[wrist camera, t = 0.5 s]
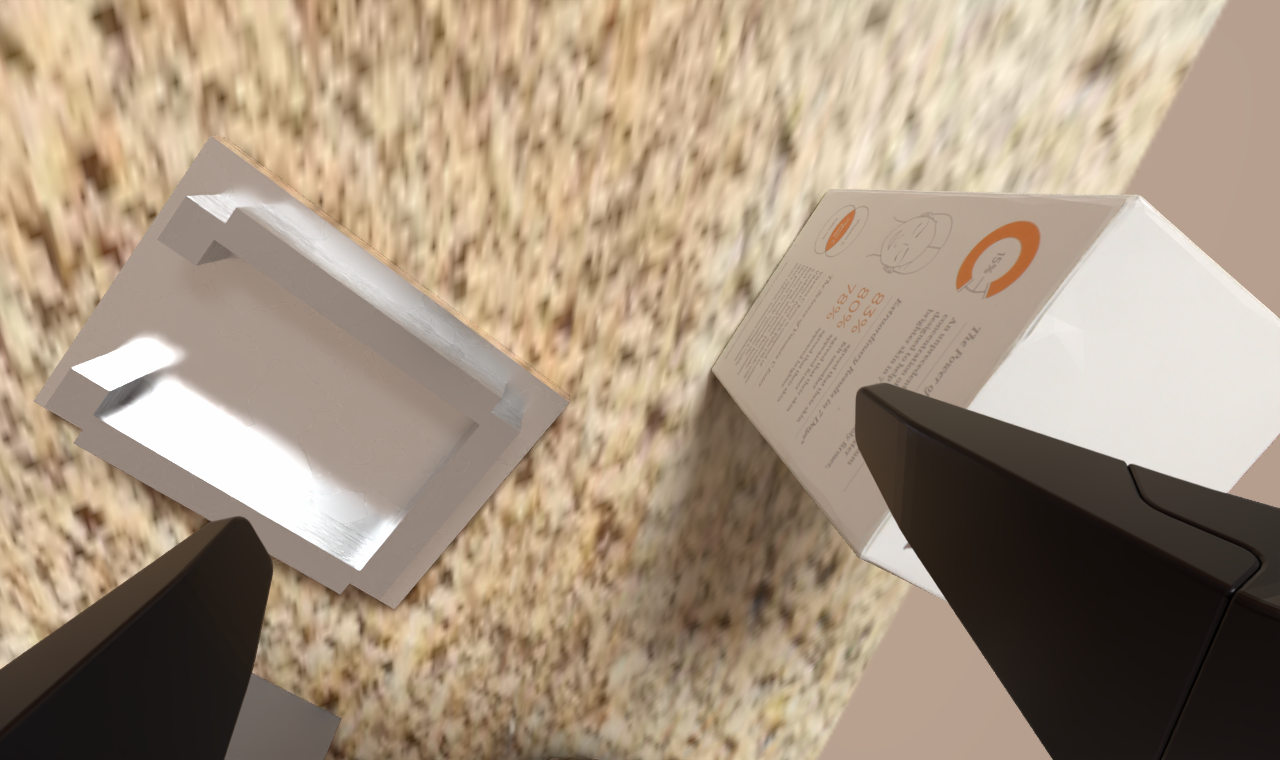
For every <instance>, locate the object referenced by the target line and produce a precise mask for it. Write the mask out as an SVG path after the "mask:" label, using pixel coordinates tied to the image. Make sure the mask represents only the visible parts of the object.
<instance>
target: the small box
mask: <svg viewBox="0 0 1280 760" xmlns="http://www.w3.org/2000/svg"><path fill="white" fill-rule="evenodd" d="M712 372H713V373H714V374H715V376H716V377H717V379H718V380H719V381H720V382H721V384H722V385H723V386H724V387H725V389H726V390H727V391H728V393H729V394H730V395H731V397H732V398H733V399H734V401H735V402H736V404H737V405H738V406H739V408H740V409H741V410H742V411H743V413H744V414H745V415H746V416H747V418H748V419H749V420H750V422H751V423H752V424H753V425H754V427H755V428H756V429H757V430H758V431H759V433H760V434H761V435H762V436H763V438H764V439H765V440H766V441H767V442H768V444H769V445H770V446H771V447H772V449H773V450H774V451H775V452H776V454H777V455H778V456H779V457H780V459H781V460H782V461H783V462H784V464H785V465H786V466H787V467H788V469H789V470H790V471H791V473H792V474H793V475H794V476H795V478H796V479H797V480H798V481H799V483H800V484H801V485H802V487H803V488H804V489H805V490H806V492H807V493H808V494H809V496H810V497H811V498H812V499H813V501H814V502H815V503H816V505H817V506H818V507H819V508H820V510H821V511H822V512H823V513H824V515H825V516H826V517H827V519H828V520H829V521H830V522H831V524H832V525H833V526H834V527H835V529H836V530H837V531H838V532H839V534H840V535H841V536H842V537H843V539H844V540H845V541H846V543H847V544H848V545H849V546H850V548H851V549H852V550H853V552H854V553H855V554H856V555H857V557H858V558H860V559H862V560H864V561H867V562H869V563H871V564H873V565H875V566H877V567H879V568H881V569H883V570H885V571H887V572H889V573H891V574H893V575H895V576H897V577H899V578H901V579H903V580H905V581H907V582H909V583H911V584H913V585H915V586H917V587H919V588H921V589H923V590H925V591H927V592H929V593H931V594H933V595H935V596H937V597H939V598H941V599H943V600H945V601H947V600H946V599H945V597H944V596H943V594H942V593H941V591H940V590H939V588H938V587H937V585H936V584H935V582H934V581H933V579H932V578H931V576H930V575H929V573H928V572H927V570H926V569H925V567H924V566H923V564H922V563H921V561H920V560H919V558H918V557H917V555H916V554H915V552H914V551H913V549H912V548H911V546H910V545H909V543H908V542H907V540H906V539H905V537H904V535H903V534H902V532H901V531H900V529H899V527H898V525H897V523H896V521H895V520H894V518H893V516H892V514H891V512H890V510H889V508H888V506H887V504H886V502H885V500H884V498H883V496H882V494H881V492H880V490H879V488H878V486H877V484H876V483H875V481H874V479H873V477H872V475H871V473H870V471H869V469H868V467H867V465H866V463H865V461H864V459H863V457H862V455H861V453H860V451H859V449H858V446H857V443H856V439H855V399H856V393H857V391H858V390H859V388H861V387H864V386H868V385H873V384H878V383H889V384H892V385H895V386H898V387H901V388H904V389H907V390H910V391H913V392H916V393H919V394H922V395H925V396H928V397H931V398H934V399H938V400H941V401H944V402H947V403H950V404H953V405H956V406H959V407H962V408H965V409H968V410H971V411H974V412H977V413H980V414H983V415H986V416H989V417H992V418H995V419H998V420H1001V421H1004V422H1007V423H1010V424H1014V425H1017V426H1020V427H1023V428H1026V429H1029V430H1032V431H1035V432H1038V433H1041V434H1044V435H1047V436H1050V437H1053V438H1056V439H1059V440H1062V441H1065V442H1068V443H1071V444H1074V445H1077V446H1080V447H1083V448H1087V449H1090V450H1093V451H1096V452H1099V453H1102V454H1105V455H1108V456H1111V457H1114V458H1117V459H1120V460H1123V461H1125V462H1126V464H1127V466H1128V465H1129V464H1136V465H1139V466H1142V467H1145V468H1148V469H1151V470H1154V471H1157V472H1160V473H1163V474H1166V475H1169V476H1172V477H1175V478H1179V479H1182V480H1185V481H1188V482H1191V483H1194V484H1198V485H1201V486H1204V487H1207V488H1210V489H1214V490H1217V491H1221V492H1224V493H1228V492H1229V491H1230V490H1231V489H1232V488H1233V487H1234V485H1235V484H1236V483H1237V482H1238V481H1239V480H1240V479H1241V478H1242V476H1243V475H1244V474H1245V473H1246V472H1247V471H1248V470H1249V469H1250V468H1251V466H1252V465H1253V464H1254V463H1255V462H1256V461H1257V460H1258V458H1259V457H1260V456H1261V455H1262V454H1263V453H1264V452H1265V451H1266V449H1267V448H1268V447H1269V446H1270V445H1271V444H1272V443H1273V441H1274V440H1275V439H1276V438H1277V437H1278V436H1279V435H1280V319H1279V318H1278V317H1277V316H1276V315H1275V314H1274V313H1272V312H1271V311H1270V310H1269V309H1268V308H1267V307H1266V306H1265V305H1263V304H1262V303H1261V302H1260V301H1259V300H1258V299H1256V298H1255V297H1254V296H1253V295H1252V294H1251V293H1250V292H1249V291H1247V290H1246V289H1245V288H1244V287H1243V286H1242V285H1241V284H1240V283H1238V282H1237V281H1236V280H1235V279H1234V278H1233V277H1231V276H1230V275H1229V274H1228V273H1227V272H1226V271H1225V270H1224V269H1222V268H1221V267H1220V266H1219V265H1218V264H1217V263H1216V262H1215V261H1213V260H1212V259H1211V258H1210V257H1209V256H1208V255H1207V254H1205V253H1204V252H1203V251H1202V250H1201V249H1200V248H1198V246H1196V245H1195V244H1194V243H1193V242H1192V241H1191V240H1190V239H1188V238H1187V237H1186V236H1185V235H1184V234H1183V233H1182V232H1181V231H1179V230H1178V229H1177V228H1176V227H1175V226H1174V225H1173V224H1172V223H1170V222H1169V221H1168V220H1167V219H1166V218H1165V217H1164V216H1163V215H1161V214H1160V213H1159V212H1158V211H1157V210H1156V209H1155V208H1153V206H1151V205H1150V204H1149V203H1148V202H1147V201H1146V200H1145V199H1144V198H1143V197H1141V196H1139V195H1075V194H1026V193H994V192H953V191H949V192H943V191H915V190H879V189H830V190H828V191H827V192H826V194H825V195H824V197H823V198H822V200H821V201H820V203H819V204H818V206H817V207H816V209H815V211H814V212H813V214H812V215H811V217H810V218H809V220H808V221H807V223H806V224H805V226H804V227H803V229H802V230H801V232H800V233H799V235H798V236H797V238H796V239H795V241H794V242H793V244H792V245H791V247H790V249H789V250H788V252H787V253H786V255H785V256H784V258H783V259H782V261H781V262H780V264H779V266H778V267H777V269H776V270H775V272H774V273H773V275H772V276H771V278H770V279H769V281H768V282H767V284H766V285H765V287H764V288H763V290H762V292H761V293H760V295H759V296H758V298H757V299H756V301H755V302H754V304H753V305H752V307H751V308H750V310H749V312H748V313H747V315H746V316H745V318H744V319H743V321H742V322H741V324H740V326H739V327H738V329H737V330H736V332H735V333H734V335H733V336H732V338H731V339H730V341H729V343H728V344H727V346H726V347H725V349H724V351H723V352H722V354H721V355H720V357H719V358H718V360H717V361H716V363H715V365H714V366H713V368H712Z"/></svg>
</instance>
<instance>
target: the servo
mask: <svg viewBox="0 0 1280 760" xmlns="http://www.w3.org/2000/svg"><path fill="white" fill-rule="evenodd" d="M340 720H341V718H339V717H337V716H335V715H333V714H331V713H329V712H327V711H326V710H324V709H322V708H320V707H318V706H316V705H314V704H312V703H310V702H308V701H306V700H304V699H302V698H300V697H298V696H296V695H294V694H292V693H290V692H288V691H286V690H284V689H282V688H280V687H278V686H276V685H274V684H272V683H270V682H268V681H266V680H265V679H263V678H261V677H259V676H257V675H255V674H253V673H252V675H251V678H250V681H249V685H248V688H247V692H246V695H245V698H244V701H243V704H242V707H241V710H240V713H239V716H238V720H237V723H236V726H235V729H234V732H233V735H232V738H231V741H230V744H229V748H228V751H227V754H226V757H225V760H324V759H325V756H326V754H327V752H328V749H329V747H330V744H331V742H332V739H333V737H334V735H335V732H336V730H337V727H338V725H339V723H340Z"/></svg>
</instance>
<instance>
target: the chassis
mask: <svg viewBox="0 0 1280 760" xmlns="http://www.w3.org/2000/svg"><path fill="white" fill-rule="evenodd" d="M34 402H36V403H37V404H39V405H41V406H42V407H44V408H46V409H48V410H49V411H51V412H53V413H55V414H56V415H58V416H60V417H62V418H63V419H65V420H67V421H68V422H70V423H72V424H74V425H75V426H77V427H79V428H81V429H82V432H81V433H80V435H79V436H78V437H77V439H76V440H75V442H74V444H76V445H78V446H79V447H81V448H83V449H85V450H86V451H88V452H90V453H92V454H94V455H95V456H97V457H99V458H101V459H102V460H104V461H106V462H108V463H109V464H111V465H113V466H115V467H116V468H118V469H120V470H122V471H123V472H125V473H127V474H129V475H130V476H132V477H134V478H136V479H138V480H139V481H141V482H143V483H145V484H146V485H148V486H150V487H152V488H153V489H155V490H157V491H159V492H160V493H162V494H164V495H166V496H167V497H169V498H171V499H173V500H174V501H176V502H178V503H180V504H182V505H183V506H185V507H187V508H189V509H190V510H192V511H194V512H196V513H197V514H199V515H201V516H203V517H204V518H206V519H208V520H210V521H211V522H212V521H216V520H220V519H225V518H230V517H235V516H241V517H244V518H246V519H247V520H249V522H250V523H251V524H252V526H253V528H254V530H255V531H256V533H257V535H258V536H259V538H260V540H261V541H262V543H263V545H264V546H265V548H266V550H267V552H268V553H269V554H270V555H271V556H273V557H275V558H277V559H278V560H280V561H282V562H284V563H285V564H287V565H289V566H291V567H292V568H294V569H296V570H298V571H299V572H301V573H303V574H305V575H307V576H308V577H310V578H312V579H314V580H315V581H317V582H319V583H321V584H322V585H324V586H326V587H328V588H329V589H331V590H333V591H335V592H336V593H338V594H340V595H341V593H342V592H343V591H344V590H345V589H346V587H347V586H348V585H349V584H351V585H353V586H355V587H357V588H358V589H360V590H362V591H364V592H365V593H367V594H369V595H371V596H372V597H374V598H376V599H377V600H379V601H381V602H383V603H384V604H386V605H388V606H390V607H391V608H393V609H395V608H396V607H397V606H398V605H399V604H400V602H401V601H402V600H403V599H404V598H405V596H406V595H407V594H408V593H409V592H410V591H411V589H412V588H413V587H414V586H415V585H416V583H417V582H418V581H419V580H420V579H421V578H422V576H423V575H424V574H425V573H426V572H427V570H428V569H429V568H430V567H431V566H432V565H433V563H434V562H435V561H436V560H437V559H438V557H439V556H440V555H441V554H442V553H443V552H444V550H445V549H446V548H447V547H448V546H449V544H450V543H451V542H452V541H453V540H454V539H455V537H456V536H457V535H458V534H459V533H460V532H461V530H462V529H463V528H464V527H465V526H466V524H467V523H468V522H469V521H470V520H471V519H472V517H473V516H474V515H475V514H476V513H477V511H478V510H479V509H480V508H481V507H482V506H483V504H484V503H485V502H486V501H487V500H488V498H489V497H490V496H491V495H492V494H493V493H494V491H495V490H496V489H497V488H498V487H499V485H500V484H501V483H502V482H503V481H504V480H505V478H506V477H507V476H508V475H509V474H510V472H511V471H512V470H513V469H514V468H515V467H516V465H517V464H518V463H519V462H520V461H521V459H522V458H523V457H524V456H525V455H526V454H527V452H528V451H529V450H530V449H531V448H532V447H533V445H534V444H535V443H536V442H537V441H538V439H539V438H540V437H541V436H542V435H543V434H544V432H545V431H546V430H547V429H548V428H549V426H550V425H551V424H552V423H553V422H554V421H555V419H556V418H557V417H558V416H559V415H560V413H561V412H562V411H563V410H564V409H565V408H566V406H567V405H568V404H569V403H570V395H568V394H567V393H566V392H564V391H563V390H562V389H560V388H559V387H558V386H556V385H555V384H554V383H552V382H551V381H550V380H548V379H547V378H546V377H544V376H543V375H542V374H540V373H539V372H538V371H536V370H535V369H534V368H532V367H531V366H530V365H528V364H527V363H526V362H524V361H523V360H522V359H520V358H519V357H518V356H516V355H515V354H514V353H512V352H511V351H510V350H508V349H507V348H506V347H504V346H503V345H502V344H500V343H499V342H498V341H496V340H495V339H494V338H492V337H491V336H490V335H488V334H487V333H486V332H484V331H483V330H482V329H480V328H479V327H478V326H476V325H475V324H474V323H472V322H471V321H470V320H468V319H467V318H466V317H464V316H463V315H462V314H460V313H459V312H458V311H456V310H455V309H454V308H452V307H451V306H450V305H448V304H447V303H445V302H444V301H443V300H441V299H440V298H439V297H437V296H436V295H435V294H433V293H432V292H431V291H429V290H428V289H427V288H425V287H424V286H423V285H421V284H420V283H419V282H417V281H416V280H415V279H413V278H412V277H411V276H409V275H408V274H407V273H405V272H404V271H403V270H401V269H400V268H399V267H397V266H396V265H395V264H393V263H392V262H391V261H389V260H388V259H387V258H385V257H384V256H383V255H381V254H380V253H379V252H377V251H376V250H375V249H373V248H372V247H371V246H369V245H368V244H367V243H365V242H364V241H363V240H361V239H360V238H359V237H357V236H356V235H355V234H353V233H352V232H351V231H349V230H348V229H347V228H345V227H344V226H343V225H341V224H340V223H339V222H337V221H336V220H335V219H333V218H332V217H331V216H329V215H328V214H327V213H325V212H324V211H323V210H321V209H320V208H319V207H317V206H316V205H315V204H313V203H312V202H311V201H309V200H308V199H306V198H305V197H304V196H302V195H301V194H300V193H298V192H297V191H296V190H294V189H293V188H292V187H290V186H289V185H288V184H286V183H285V182H284V181H282V180H281V179H280V178H278V177H277V176H276V175H274V174H273V173H272V172H270V171H269V170H268V169H266V168H265V167H264V166H262V165H261V164H260V163H258V162H257V161H256V160H254V159H253V158H252V157H250V156H249V155H248V154H246V153H245V152H244V151H242V150H241V149H240V148H238V147H237V146H236V145H234V144H233V143H232V142H230V141H229V140H228V139H226V138H225V137H221V136H213V135H211V136H210V138H209V139H208V141H207V142H206V144H205V145H204V147H203V148H202V150H201V151H200V153H199V154H198V156H197V157H196V159H195V160H194V162H193V163H192V165H191V166H190V168H189V169H188V171H187V172H186V174H185V175H184V177H183V178H182V180H181V181H180V183H179V184H178V186H177V187H176V189H175V190H174V192H173V193H172V195H171V196H170V198H169V199H168V201H167V202H166V204H165V205H164V207H163V208H162V210H161V211H160V213H159V214H158V216H157V217H156V219H155V220H154V222H153V223H152V225H151V226H150V228H149V229H148V231H147V232H146V234H145V235H144V237H143V238H142V240H141V241H140V243H139V244H138V246H137V247H136V249H135V250H134V252H133V253H132V255H131V256H130V258H129V259H128V261H127V262H126V264H125V265H124V267H123V268H122V270H121V271H120V273H119V274H118V276H117V277H116V279H115V280H114V282H113V283H112V285H111V286H110V288H109V289H108V291H107V292H106V294H105V295H104V297H103V298H102V300H101V301H100V303H99V304H98V306H97V307H96V309H95V310H94V312H93V313H92V315H91V316H90V318H89V319H88V321H87V322H86V324H85V325H84V327H83V328H82V330H81V331H80V333H79V334H78V336H77V337H76V339H75V340H74V342H73V343H72V345H71V346H70V348H69V349H68V351H67V352H66V354H65V355H64V357H63V358H62V360H61V361H60V363H59V364H58V366H57V367H56V369H55V370H54V372H53V373H52V375H51V376H50V378H49V379H48V381H47V382H46V384H45V385H44V387H43V388H42V390H41V391H40V393H39V394H38V396H37V397H36V399H35V400H34Z"/></svg>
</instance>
